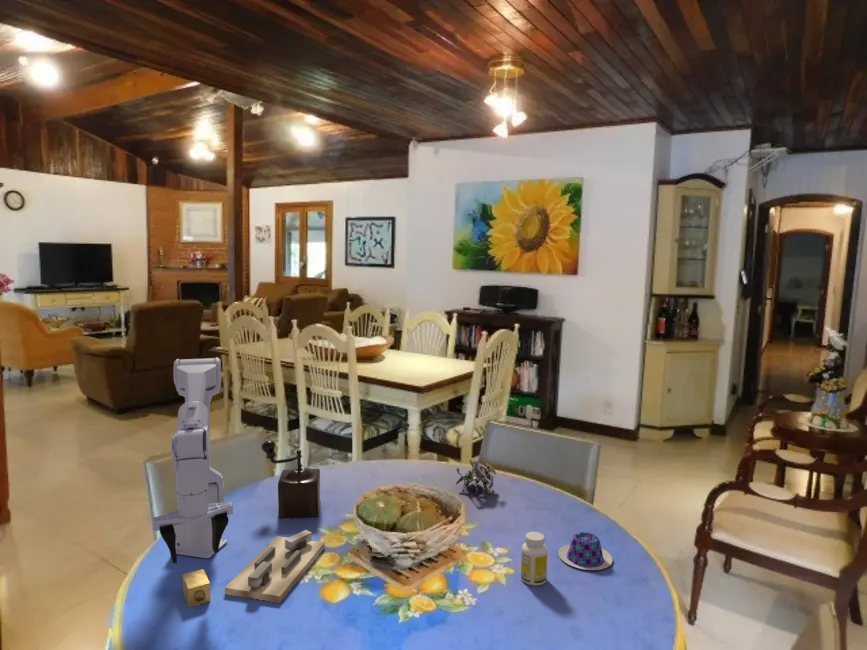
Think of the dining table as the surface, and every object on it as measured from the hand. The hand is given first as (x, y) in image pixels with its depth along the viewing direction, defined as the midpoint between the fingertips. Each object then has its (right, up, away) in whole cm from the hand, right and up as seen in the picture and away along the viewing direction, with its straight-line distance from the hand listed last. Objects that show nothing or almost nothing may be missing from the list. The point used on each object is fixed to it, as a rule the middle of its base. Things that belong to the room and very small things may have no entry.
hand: (195, 555), depth 117 cm
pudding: (+82, -8, +19) cm, 84 cm away
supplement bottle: (+68, -9, +9) cm, 69 cm away
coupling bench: (+13, -8, +11) cm, 19 cm away
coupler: (0, -9, +1) cm, 9 cm away
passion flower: (+59, -3, +54) cm, 80 cm away
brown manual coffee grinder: (+9, -4, +41) cm, 42 cm away
